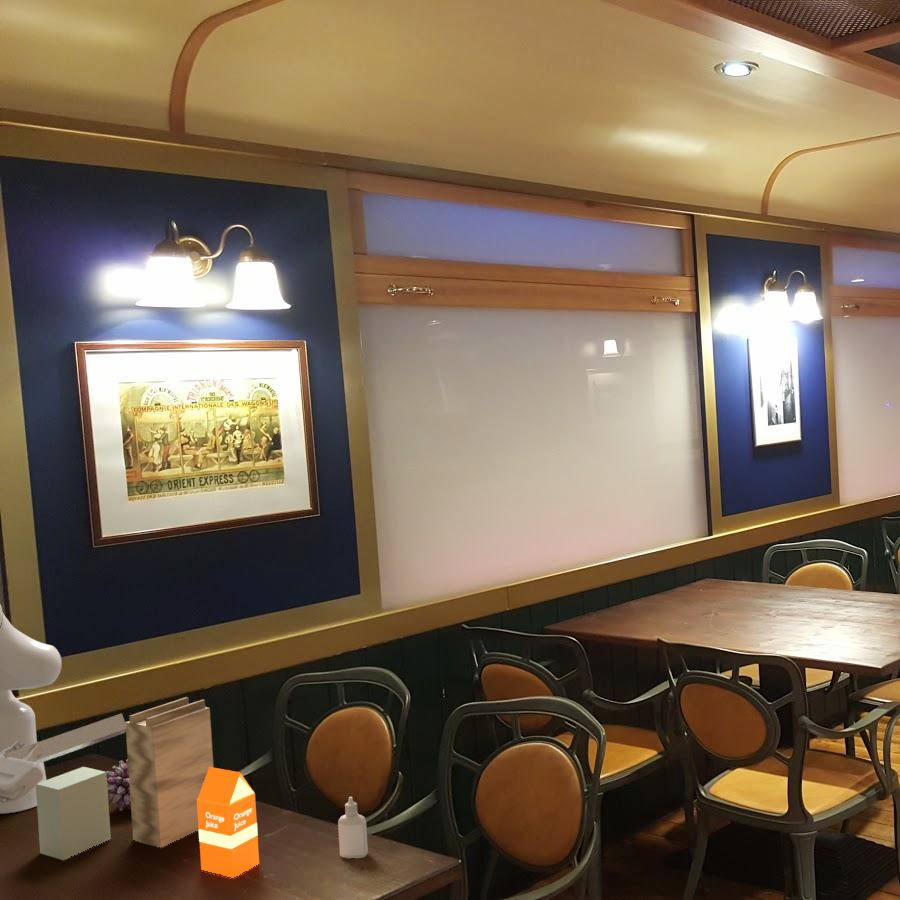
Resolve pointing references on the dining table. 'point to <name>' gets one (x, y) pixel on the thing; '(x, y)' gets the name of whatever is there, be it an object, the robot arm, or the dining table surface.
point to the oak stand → (167, 769)
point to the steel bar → (75, 739)
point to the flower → (119, 786)
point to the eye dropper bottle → (352, 832)
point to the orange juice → (227, 824)
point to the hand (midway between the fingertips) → (30, 745)
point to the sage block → (73, 812)
